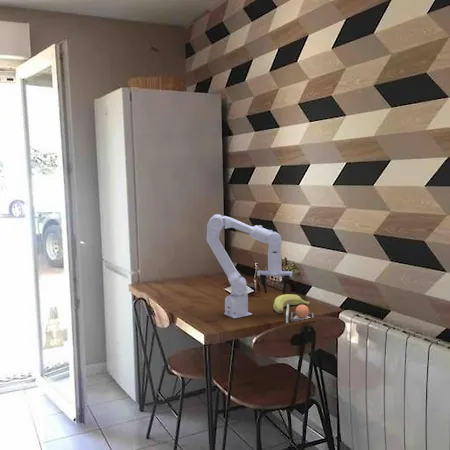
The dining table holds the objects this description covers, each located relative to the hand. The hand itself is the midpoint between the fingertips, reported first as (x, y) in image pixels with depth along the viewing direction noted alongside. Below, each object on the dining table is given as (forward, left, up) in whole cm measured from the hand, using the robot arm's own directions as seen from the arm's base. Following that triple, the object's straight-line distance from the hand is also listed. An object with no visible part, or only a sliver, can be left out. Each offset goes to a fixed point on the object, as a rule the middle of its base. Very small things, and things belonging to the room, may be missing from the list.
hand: (274, 293), depth 206 cm
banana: (+13, +4, -10) cm, 17 cm away
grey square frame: (+6, -11, -9) cm, 15 cm away
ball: (+6, -11, -6) cm, 14 cm away
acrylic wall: (+2, -7, -9) cm, 12 cm away
